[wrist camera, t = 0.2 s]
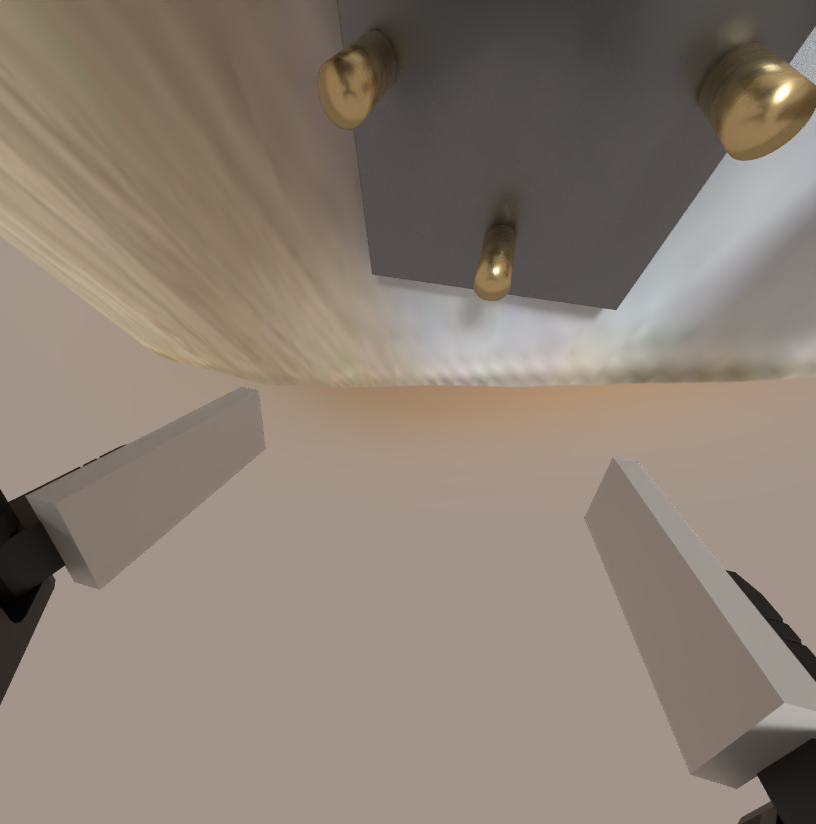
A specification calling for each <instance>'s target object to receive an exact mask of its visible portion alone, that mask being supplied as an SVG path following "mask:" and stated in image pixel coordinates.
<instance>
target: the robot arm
mask: <svg viewBox="0 0 816 824" xmlns="http://www.w3.org/2000/svg"><path fill="white" fill-rule="evenodd" d="M264 450H265V440H264V432H263V423H262V416H261V407H260V399H259V391H258V390H254V389H249V388H244V387H240V388H238V389H236V390H234V391H233V392H230V393H228V394H226V395H224V396H222V397H220V398H219V399H216V400H214V401H212V402H211V403H209V404H207V405H205V406H203V407H201V408H199V409H197V410H195V411H193V412H191V413H189V414H187V415H185V416H183V417H181V418H179V419H177V420H175V421H173V422H171V423H169V424H167V425H165V426H163V427H161V428H159V429H157V430H155V431H153V432H151V433H149V434H147V435H145V436H143V437H141V438H139V439H137V440H135V441H133V442H131V443H129V444H127V445H123V446H120V447H118V448H116V449H114V450H112V451H110V452H108V453H106V454H104V455H102V456H100V458H99V459H94V460H92V461H90V462H88V463H86V464H84V465H83V467H78V468H76V469H74V470H72V471H70V472H68V473H66V474H64V475H62V476H60V477H58V478H56V479H54V480H52V481H50V482H48V483H46V484H44V485H42V486H40V487H38V488H36V489H34V490H32V491H30V492H28V493H26V494H24V495H22V496H20V497H18V498H16V499H14V500H11V501H9V502H8V501H7V500H6V498H5V496H4V495H3V493H2V491H1V490H0V704H1V702H2V700H3V698H4V695H5V694H6V691H7V689H8V687H9V685H10V683H11V681H12V678H13V676H14V674H15V672H16V670H17V667H18V665H19V663H20V661H21V659H22V657H23V655H24V652H25V650H26V648H27V646H28V644H29V641H30V639H31V637H32V635H33V633H34V631H35V628H36V626H37V624H38V622H39V620H40V618H41V615H42V613H43V611H44V608H45V607H46V605H47V602H48V600H49V598H50V596H51V594H52V591H53V589H54V587H55V578H54V577H53V575H52V574H53V573H55V572H56V571H58V570H59V569H61V568H62V567H63V566H66V568H67V570H68V572H69V573H70V575H71V577H72V579H73V580H74V582H76V583H80V584H83V585H86V586H89V587H93V588H96V589H99V590H100V589H102V588H103V587H104V586H105V585H106V584H107V583H109V582H110V581H111V580H112V579H113V578H115V577H116V576H117V575H118V574H119V573H120V572H122V571H123V570H124V569H125V568H126V567H127V566H129V565H130V564H131V563H132V562H133V561H134V560H136V559H137V558H138V557H139V556H140V555H142V554H143V553H144V552H145V551H146V550H147V549H149V548H150V547H151V546H152V545H153V544H154V543H155V542H157V541H158V540H159V539H160V538H162V537H163V536H164V535H165V534H166V533H167V532H168V531H170V530H171V529H172V528H173V527H174V526H175V525H177V524H178V523H179V522H180V521H181V520H182V519H184V518H185V517H186V516H187V515H189V514H190V513H191V512H192V511H193V510H194V509H196V508H197V507H198V506H199V505H200V504H201V503H202V502H204V501H205V500H206V499H207V498H208V497H209V496H211V495H212V494H213V493H214V492H215V491H217V490H218V489H219V488H220V487H221V486H223V485H224V484H225V483H226V482H227V481H228V480H230V479H231V478H232V477H233V476H234V475H236V474H237V473H238V472H239V471H240V470H241V469H243V468H244V467H245V466H246V465H247V464H248V463H250V462H251V461H252V460H253V459H254V458H256V457H257V456H258V455H259V454H260V453H261V452H263V451H264ZM584 518H585V521H586V523H587V526H588V528H589V530H590V533H591V535H592V538H593V540H594V543H595V545H596V547H597V550H598V552H599V555H600V557H601V560H602V562H603V564H604V567H605V569H606V572H607V574H608V576H609V579H610V581H611V584H612V586H613V588H614V591H615V593H616V595H617V598H618V601H619V603H620V605H621V608H622V610H623V613H624V615H625V618H626V620H627V622H628V625H629V627H630V630H631V632H632V634H633V637H634V639H635V641H636V644H637V646H638V649H639V651H640V653H641V656H642V659H643V661H644V663H645V666H646V668H647V670H648V673H649V675H650V678H651V680H652V683H653V685H654V688H655V690H656V692H657V695H658V697H659V700H660V702H661V704H662V707H663V709H664V712H665V714H666V716H667V719H668V721H669V724H670V726H671V729H672V731H673V733H674V736H675V738H676V740H677V743H678V745H679V748H680V750H681V753H682V755H683V757H684V760H685V762H686V765H687V767H688V769H689V772H690V774H691V775H694V776H697V777H701V778H704V779H707V780H710V781H713V782H716V783H720V784H723V785H726V786H729V787H732V788H736V789H737V788H739V787H740V786H742V785H744V784H745V783H747V782H748V781H750V780H751V779H753V778H755V777H756V776H758V777H759V779H760V781H761V783H762V785H763V787H764V789H765V790H766V792H767V794H768V796H769V798H770V799H771V801H770V802H769V803H767V804H765V805H763V806H761V807H760V808H758V809H756V810H754V811H752V812H751V813H749V814H747V815H745V816H743V817H742V818H741V819H740V821H739V823H738V824H816V657H815V656H814V654H813V653H812V652H811V651H810V650H809V649H808V647H807V646H804V645H802V644H801V639H800V638H799V637H798V636H797V635H796V634H795V632H794V631H793V630H792V629H791V628H790V626H789V625H788V624H785V623H783V618H782V617H781V616H780V615H779V614H778V613H777V611H776V610H775V609H774V608H773V607H772V606H771V604H770V603H769V602H768V601H767V600H766V599H765V598H764V596H763V595H762V594H761V593H760V592H758V591H757V590H756V589H755V588H753V587H752V586H751V585H750V584H749V583H748V582H746V581H745V580H744V579H743V578H741V577H740V576H739V575H738V574H737V573H735V572H731V571H727V570H725V569H724V568H723V567H722V565H721V564H720V563H719V562H718V560H717V559H716V558H715V557H714V555H713V554H712V553H711V552H710V551H709V549H708V548H707V547H706V546H705V544H704V543H703V542H702V541H701V539H700V538H699V537H698V536H697V535H696V533H695V532H694V531H693V529H692V528H691V527H690V526H689V524H688V523H687V522H686V521H685V519H684V518H683V517H682V516H681V515H680V513H679V512H678V511H677V510H676V508H675V507H674V506H673V505H672V504H671V502H670V501H669V500H668V499H667V497H666V496H665V495H664V493H663V492H662V491H661V490H660V489H659V487H658V486H657V485H656V484H655V482H654V481H653V480H652V479H651V477H650V476H649V475H648V474H647V472H646V471H645V470H644V469H643V467H642V466H641V465H640V464H639V463H638V462H637V461H632V460H627V459H622V458H616V457H613V458H612V460H611V462H610V465H609V467H608V469H607V471H606V473H605V475H604V477H603V480H602V481H601V484H600V486H599V488H598V490H597V492H596V494H595V496H594V498H593V501H592V503H591V505H590V507H589V509H588V511H587V513H586V516H585V517H584Z"/></svg>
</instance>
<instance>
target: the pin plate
mask: <svg viewBox="0 0 816 824" xmlns="http://www.w3.org/2000/svg"><path fill="white" fill-rule="evenodd" d="M337 2H338V10H339V18H340V26H341V34H342V41H343V50H341V51H340V52H339V53H337V54H336V55H335V56H333V57H332V58H331V59H329V60H328V61H327V62H325V64H324V65H323V66H322V68H321V70H320V72H319V76H318V94H319V99H320V102H321V105H322V107H323V109H324V111H325V113H326V114H327V116H328V117H329V119H330V120H331V121H332V122H333V123H334V124H336V125H337V126H339V127H341V128H344V129H353V128H354V135H355V143H356V150H357V158H358V166H359V174H360V182H361V189H362V197H363V205H364V213H365V220H366V228H367V236H368V244H369V252H370V259H371V267H372V274H374V275H381V276H387V277H394V278H401V279H408V280H415V281H422V282H428V283H435V284H442V285H449V286H456V287H463V288H469V289H474V290H475V292H476V294H477V295H478V296H479V297H480V298H482V299H484V300H488V301H495V300H499V299H501V298H503V297H504V296H505V295H506V294H510V295H517V296H524V297H531V298H538V299H544V300H551V301H558V302H565V303H572V304H579V305H585V306H592V307H599V308H606V309H613V310H617V308H618V307H619V305H620V304H621V302H622V301H623V300H624V298H625V297H626V295H627V294H628V293H629V291H630V290H631V288H632V287H633V285H634V284H635V283H636V281H637V280H638V278H639V277H640V275H641V274H642V273H643V271H644V270H645V268H646V267H647V265H648V264H649V263H650V261H651V260H652V258H653V257H654V255H655V254H656V253H657V251H658V250H659V248H660V247H661V245H662V244H663V243H664V241H665V240H666V238H667V237H668V235H669V234H670V233H671V231H672V230H673V228H674V227H675V225H676V224H677V223H678V221H679V220H680V218H681V217H682V216H683V214H684V213H685V211H686V210H687V208H688V207H689V206H690V204H691V203H692V201H693V200H694V198H695V197H696V196H697V194H698V193H699V191H700V190H701V188H702V187H703V186H704V184H705V183H706V181H707V180H708V178H709V177H710V176H711V174H712V173H713V171H714V170H715V168H716V167H717V166H718V164H719V163H720V161H721V160H722V158H723V157H724V156H725V154H726V153H727V152H728V154H729V155H730V156H731V157H732V158H734V159H736V160H741V161H746V160H753V159H757V158H760V157H763V156H765V155H767V154H769V153H771V152H773V151H775V150H777V149H778V148H780V147H781V146H783V145H784V144H786V143H787V142H788V141H790V140H791V139H792V138H793V137H794V136H795V135H796V134H797V133H798V132H799V131H800V130H801V129H802V128H803V127H804V126H805V124H806V123H807V122H808V120H809V119H810V117H811V116H812V114H813V112H814V110H815V108H816V86H815V84H814V83H812V82H811V81H810V80H809V79H807V78H806V77H805V76H803V75H802V74H801V73H800V72H798V71H797V70H796V69H794V68H793V67H792V66H791V65H789V63H790V62H791V60H792V59H793V57H794V56H795V54H796V53H797V52H798V50H799V49H800V47H801V46H802V44H803V43H804V42H805V40H806V39H807V37H808V36H809V34H810V33H811V32H812V30H813V29H814V27H815V26H816V0H337Z"/></svg>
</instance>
